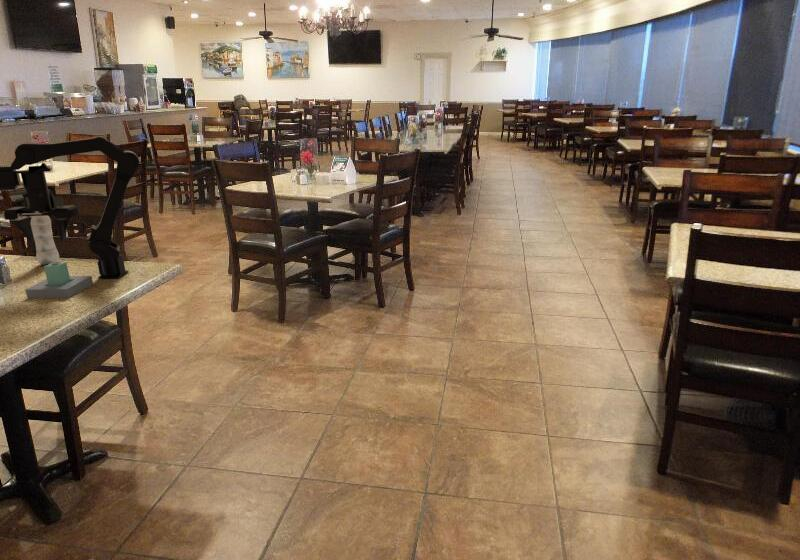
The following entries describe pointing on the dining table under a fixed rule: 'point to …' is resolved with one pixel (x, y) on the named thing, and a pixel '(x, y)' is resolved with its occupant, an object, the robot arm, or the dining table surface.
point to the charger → (57, 273)
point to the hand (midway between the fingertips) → (48, 241)
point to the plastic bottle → (44, 239)
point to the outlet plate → (59, 288)
